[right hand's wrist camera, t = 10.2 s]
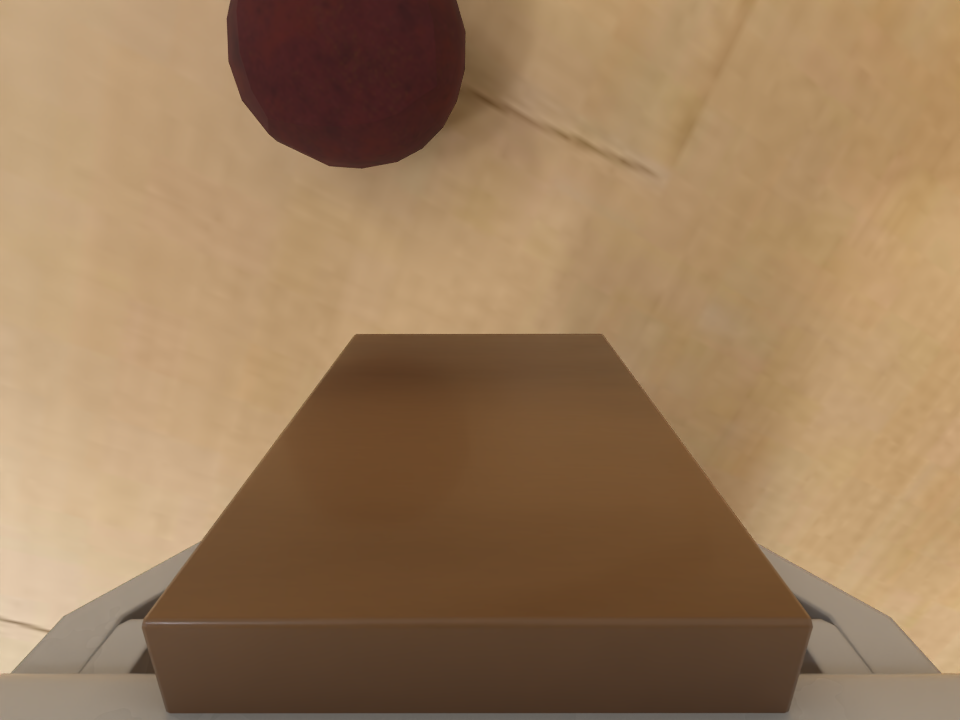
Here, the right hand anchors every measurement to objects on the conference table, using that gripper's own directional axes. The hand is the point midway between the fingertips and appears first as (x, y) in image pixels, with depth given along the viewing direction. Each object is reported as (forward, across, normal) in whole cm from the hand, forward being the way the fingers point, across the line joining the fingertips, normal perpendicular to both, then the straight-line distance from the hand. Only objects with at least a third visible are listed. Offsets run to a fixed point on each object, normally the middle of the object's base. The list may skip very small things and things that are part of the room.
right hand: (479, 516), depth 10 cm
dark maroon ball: (+15, -4, +10) cm, 18 cm away
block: (+3, 0, -8) cm, 9 cm away
